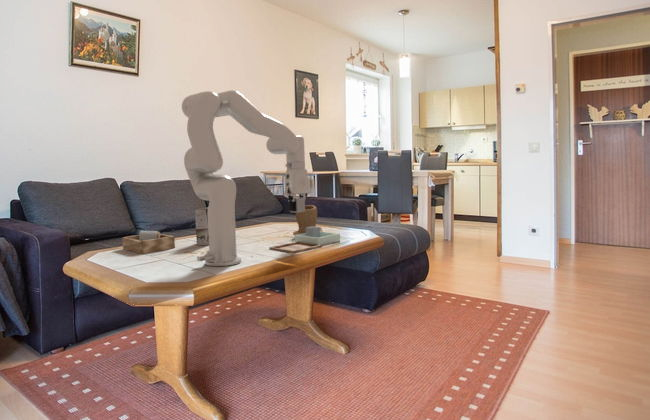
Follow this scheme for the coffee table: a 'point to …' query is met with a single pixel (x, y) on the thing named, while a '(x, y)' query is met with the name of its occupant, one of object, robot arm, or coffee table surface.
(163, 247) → the wooden box
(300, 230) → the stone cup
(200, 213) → the coffee box
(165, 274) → the coffee table surface
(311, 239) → the pale green square tray
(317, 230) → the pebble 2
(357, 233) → the coffee table surface
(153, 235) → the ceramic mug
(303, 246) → the tray
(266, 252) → the coffee table surface
